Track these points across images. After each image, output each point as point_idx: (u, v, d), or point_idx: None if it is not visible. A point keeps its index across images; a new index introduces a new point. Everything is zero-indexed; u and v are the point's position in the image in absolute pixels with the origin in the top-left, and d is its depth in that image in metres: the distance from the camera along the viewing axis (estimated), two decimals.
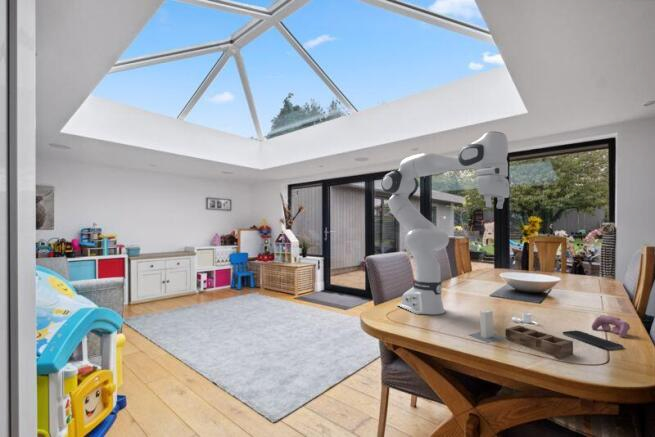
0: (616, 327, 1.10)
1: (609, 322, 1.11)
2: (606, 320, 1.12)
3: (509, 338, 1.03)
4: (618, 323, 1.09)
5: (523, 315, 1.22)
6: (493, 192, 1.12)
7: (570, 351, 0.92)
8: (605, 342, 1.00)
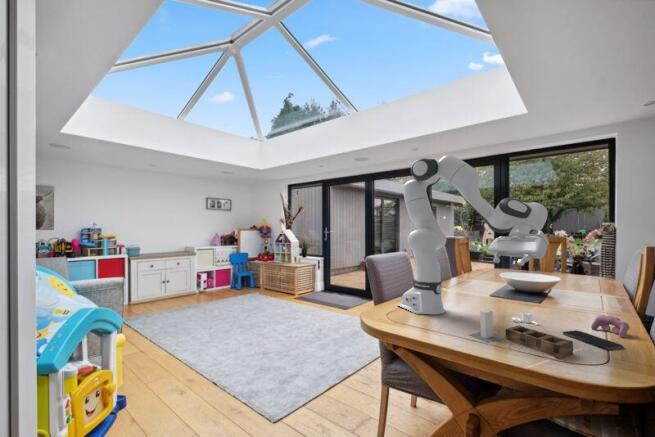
0: (616, 327, 1.10)
1: (609, 322, 1.11)
2: (606, 320, 1.12)
3: (509, 338, 1.03)
4: (618, 323, 1.09)
5: (523, 315, 1.22)
6: None
7: (570, 351, 0.92)
8: (605, 342, 1.00)
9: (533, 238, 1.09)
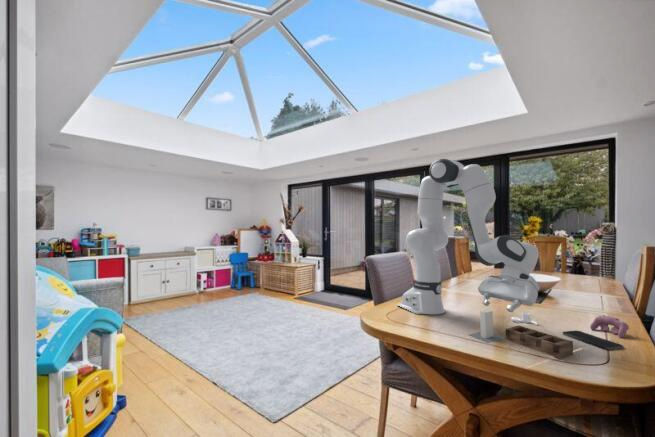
0: (615, 327, 1.09)
1: (608, 322, 1.11)
2: (605, 320, 1.12)
3: (509, 338, 1.03)
4: (617, 323, 1.08)
5: (522, 315, 1.23)
6: None
7: (570, 351, 0.92)
8: (605, 342, 1.00)
9: (523, 283, 1.06)
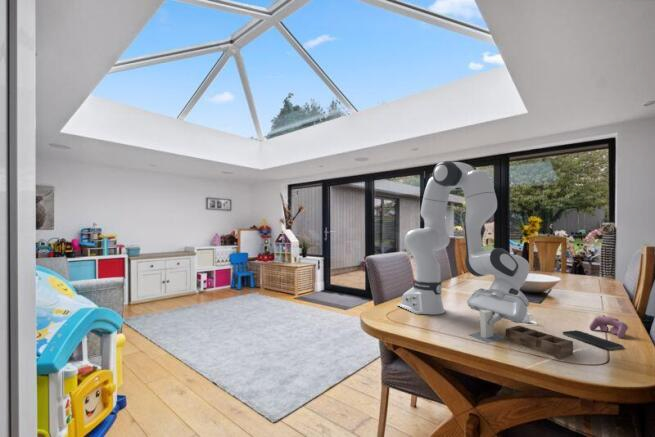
0: (614, 328, 1.09)
1: (607, 323, 1.11)
2: (604, 321, 1.11)
3: (509, 338, 1.03)
4: (616, 324, 1.08)
5: None
6: None
7: (570, 351, 0.92)
8: (605, 342, 1.00)
9: (513, 299, 1.04)
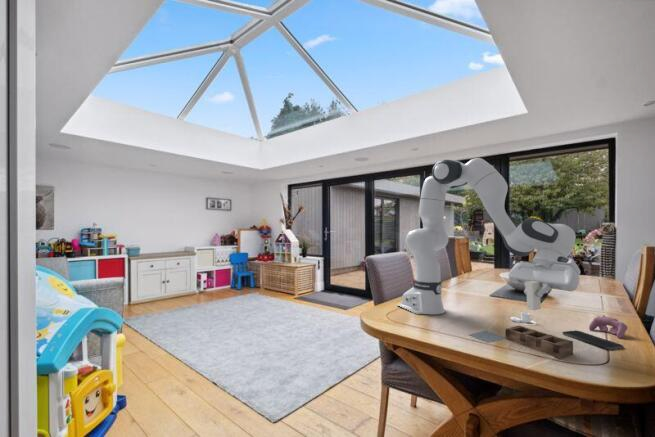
0: (613, 328, 1.09)
1: (606, 323, 1.10)
2: (603, 321, 1.11)
3: (509, 338, 1.03)
4: (615, 324, 1.08)
5: (522, 315, 1.23)
6: None
7: (570, 351, 0.92)
8: (605, 342, 1.00)
9: (562, 267, 0.96)
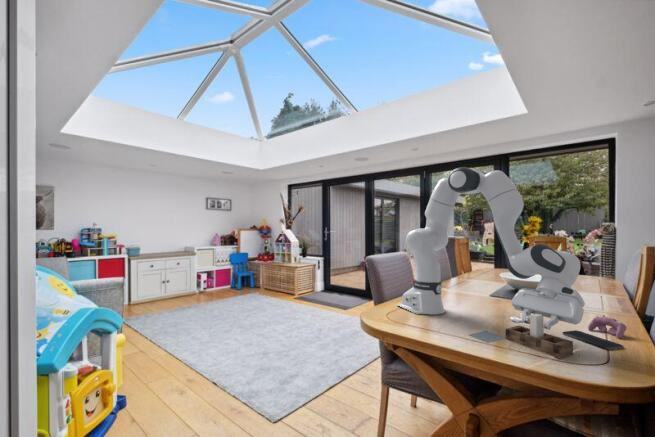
0: (612, 328, 1.09)
1: (605, 323, 1.10)
2: (602, 321, 1.11)
3: (509, 338, 1.03)
4: (615, 324, 1.08)
5: (521, 314, 1.23)
6: None
7: (570, 351, 0.92)
8: (605, 342, 1.00)
9: (567, 298, 0.95)
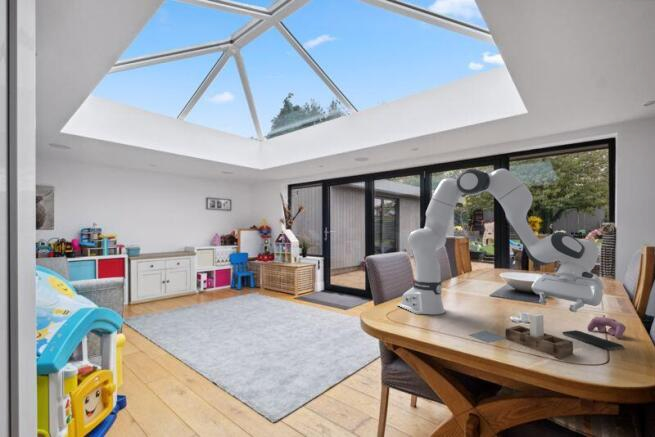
0: (612, 328, 1.08)
1: (605, 323, 1.10)
2: (602, 321, 1.11)
3: (509, 338, 1.03)
4: (614, 324, 1.07)
5: (521, 314, 1.23)
6: None
7: (570, 351, 0.92)
8: (605, 342, 1.00)
9: (587, 282, 1.01)
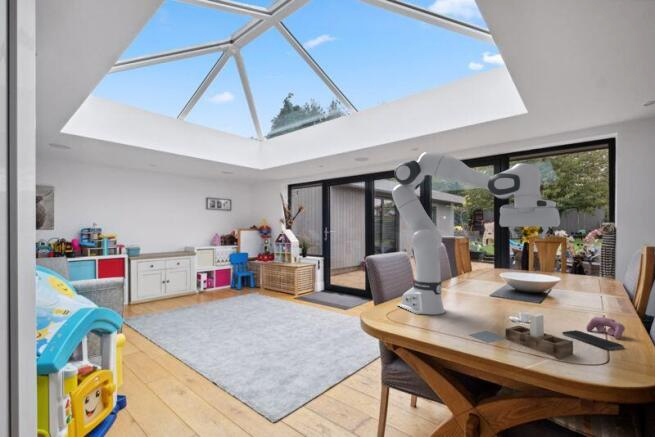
0: (611, 329, 1.08)
1: (604, 324, 1.10)
2: (601, 322, 1.10)
3: (509, 338, 1.03)
4: (613, 325, 1.07)
5: (520, 314, 1.23)
6: None
7: (570, 351, 0.92)
8: (605, 342, 1.00)
9: (544, 210, 1.11)
